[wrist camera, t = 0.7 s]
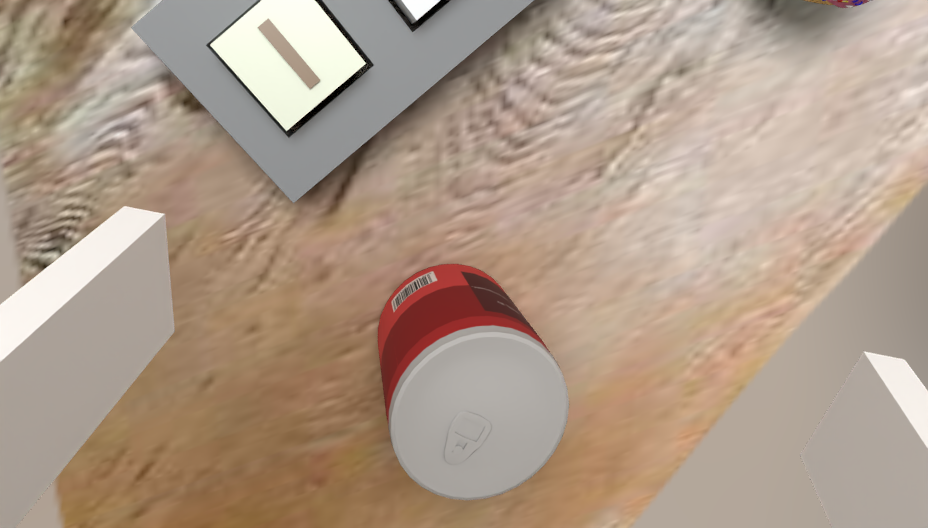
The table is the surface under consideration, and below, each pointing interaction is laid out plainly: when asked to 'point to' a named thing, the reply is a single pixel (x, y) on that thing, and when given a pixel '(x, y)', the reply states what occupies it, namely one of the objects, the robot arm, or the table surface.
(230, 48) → the tile
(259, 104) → the keypad
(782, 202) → the table surface
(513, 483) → the canned food
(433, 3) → the tile
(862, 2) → the cupcake
